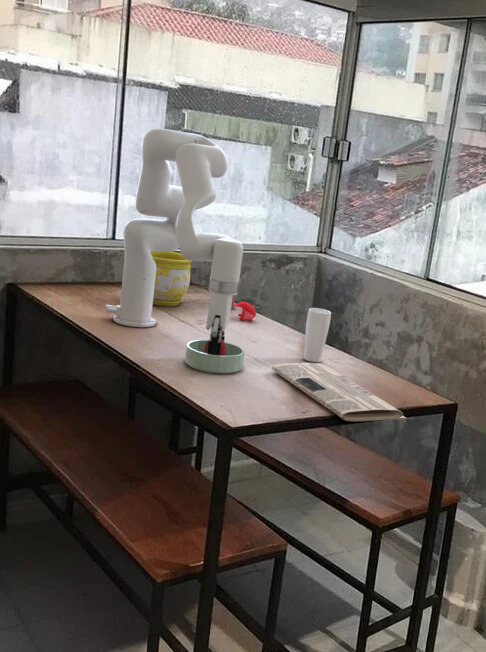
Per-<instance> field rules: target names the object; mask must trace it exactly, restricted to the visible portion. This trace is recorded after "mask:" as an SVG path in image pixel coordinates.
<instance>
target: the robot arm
mask: <svg viewBox="0 0 486 652" xmlns="http://www.w3.org/2000/svg"><path fill="white" fill-rule="evenodd" d="M140 152H141V168H140V173H139V179H138V183H137V190H136V194H135V199H134V200H135V202H134V203H135V204H134V205H135V209H136V211H137V213H139V214H141V215H143V216H146V217H147V216H149V217H157V218H164V219H155V218H142V217H141V218H139V217H138V218H133V219H130V220H129V221H127V223H125V225H124V228H123V244H124V259H123V271H122V280H121V289H120V291H121V292H120V300H119V305H118V304H117V305H112V304H105V308H104V310H105V312H107V313H109V314H110V313H111V314H112V313H113V314H114V315H113V317H112V319H113V322H114V323H116V324H119V325H122V326H125V327H133V328H150V327H154V326H156V324H157V320H156V319H155V318H154V317H153V316H152V313H153V305H154V304H153V296H154V287H155V278H156V263H155V261H154V259H153V257H152V255H151V252H154V251H159V252H175V251H178V249H179V252H180V254H182V255H183V256H184V257H185V258H186V259H187V260H190V261H192V262H210V263H211V267H210V275H209V282H208V283H209V284H208V292H210V293H211V295H210V298H209V299H210V300H209V305H208V312H207V317H206V318H207V319H206V325H205V329H206V330H207V331H208V330H210V335H209V336H210V337H209V339H208V340H209V344H208V352H207V354H211V355H219V356H220V349H221V342H220V341H221V339H222V340H223V341H224V342H225V334H226V330H227V327H228V326H229V321H230V318H231V311H232V309H231V305H232V297H233V295H235V296H237V295H238V292H239V286H240V285H239V284H240V279H241V270H242V262H243V257H244V244H243V242H241V241H240V240H237V239H234V238H233V239H232V238H231V237H230V236H229V235H227V234H223V233H213V232H202V231H201V232H200V231H199V232H198V231H196V230H195V227H194V223H193V213H194V212H195V211H197V210H200V209H202V208H205V207H207V206H210V205H211V204H212V203H213V202H214V201H215V200H216V199H217V193H216V189H215V184H214V180H213V178H215V179H218V178H219V179H220V178H222V177H224V175H225V174H226V172H227V170H228V158H227V155H226V153H225V151H224V150H223V148H221V147H220V146H219V145H217V143H214V142H213V141H212V140H210V139H209V138H207V137H205V136H204V135H201V134H198V133H192V132H186V131H180V130H175V129H174V130H173V129H168V128H167V129H166V128H153V129H149V130H148V131H146V133H145V134H144V136H143V137H142V141H141V147H140ZM169 162H175V163H176V168H177V173H178V177H179V181H180V185H181V186H179V185H173V184H170V182H171V178H172V169H171V165H170V163H169Z"/></svg>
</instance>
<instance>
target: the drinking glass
mask: <svg viewBox="0 0 486 652" xmlns="http://www.w3.org/2000/svg"><path fill="white" fill-rule="evenodd" d="M331 319H332V312H331V310H328V309H326V308H325V309H324V308H319V307H309V308H308V311H307V317H306V323H305V335H304V336H305V337H304V351H303V359H304V360H305V361H307V362H308V363H320V362H321V361H323V353H324V349H325V346H326V342H327V337H328V335H329V334H328V333H329V329H330V325H331V321H332V320H331Z"/></svg>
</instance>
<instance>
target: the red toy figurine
mask: <svg viewBox="0 0 486 652" xmlns="http://www.w3.org/2000/svg"><path fill="white" fill-rule="evenodd" d="M234 307H237V308H241V313H238V314H237V315H238V317H239V320H240V321H248V322H250V321H252V320H253V319H254V318H255V317H256V316H257V311H256V308H255V307H254V306H253V305H252V304H251V303H249V302H246V301H240V302H238V303H234Z"/></svg>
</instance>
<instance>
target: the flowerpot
mask: <svg viewBox="0 0 486 652" xmlns="http://www.w3.org/2000/svg"><path fill="white" fill-rule="evenodd" d="M151 255H152V257H153V259H154V261H155V263H156V278H155V287H154V296H153V305H154V306H161V307H162V306H163V307H176V306H178V305H180V303H182V302H183V297H184V295H185V294H187V291H188V290H189V286H190V283H191V268H192V265H191V264H192V263H193V261H190V260H187V259H186V258H185V257H184V256H183V255H182V253H181V252H175V251H173V252H159V251H154V252H151Z"/></svg>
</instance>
